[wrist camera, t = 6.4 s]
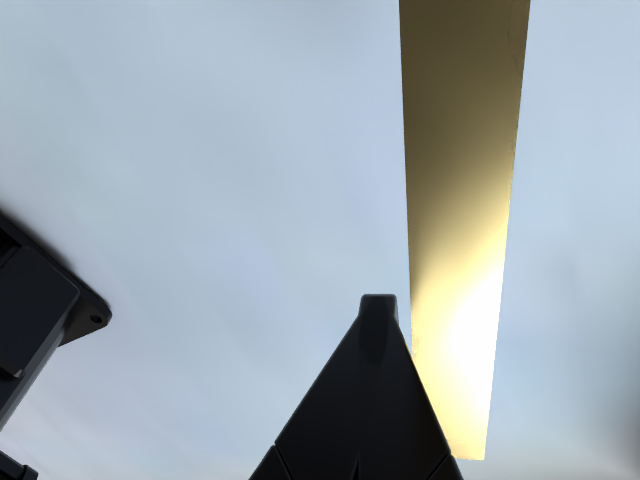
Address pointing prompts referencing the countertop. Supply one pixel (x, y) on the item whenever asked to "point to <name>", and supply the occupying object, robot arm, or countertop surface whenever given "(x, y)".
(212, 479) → the countertop surface
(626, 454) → the countertop surface
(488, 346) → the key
